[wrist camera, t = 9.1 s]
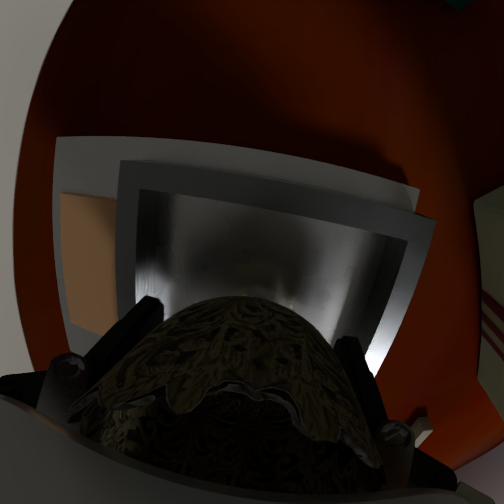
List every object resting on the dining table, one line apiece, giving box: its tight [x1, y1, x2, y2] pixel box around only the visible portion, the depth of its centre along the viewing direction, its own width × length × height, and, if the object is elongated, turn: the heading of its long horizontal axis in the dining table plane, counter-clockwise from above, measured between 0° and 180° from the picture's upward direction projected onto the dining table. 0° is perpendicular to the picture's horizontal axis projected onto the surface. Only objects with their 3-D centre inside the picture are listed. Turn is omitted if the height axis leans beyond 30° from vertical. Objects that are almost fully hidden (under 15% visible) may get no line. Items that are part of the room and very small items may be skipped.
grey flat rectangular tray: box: [53, 136, 436, 377], centre depth 12 cm, size 14×18×3 cm
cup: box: [67, 296, 387, 494], centre depth 8 cm, size 8×7×8 cm
